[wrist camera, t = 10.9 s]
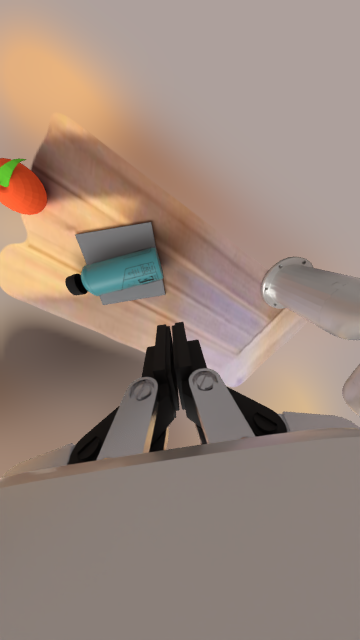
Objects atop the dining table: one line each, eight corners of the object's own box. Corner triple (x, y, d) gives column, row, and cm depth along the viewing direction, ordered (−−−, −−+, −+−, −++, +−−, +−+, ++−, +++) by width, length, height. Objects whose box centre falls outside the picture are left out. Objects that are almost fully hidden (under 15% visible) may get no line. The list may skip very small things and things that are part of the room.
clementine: (23, 150, 26) (-21, 123, 20) (65, 187, 29) (38, 174, 23) (5, 194, 29) (-40, 182, 22) (45, 225, 31) (15, 222, 25)
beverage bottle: (160, 236, 31) (60, 262, 31) (166, 262, 28) (56, 290, 29) (167, 261, 37) (82, 282, 37) (172, 284, 34) (81, 307, 35)
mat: (151, 222, 32) (150, 222, 32) (165, 293, 39) (165, 294, 39) (76, 234, 32) (75, 234, 32) (103, 304, 39) (103, 305, 39)
